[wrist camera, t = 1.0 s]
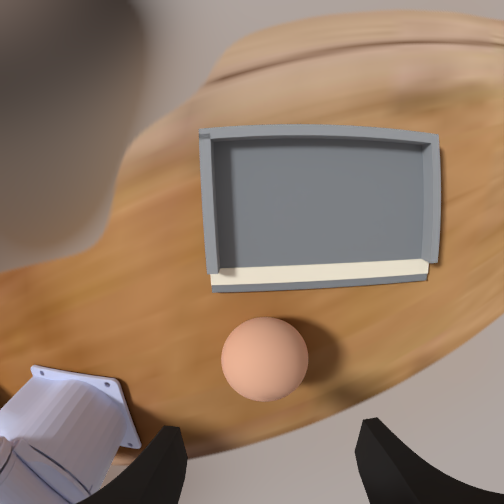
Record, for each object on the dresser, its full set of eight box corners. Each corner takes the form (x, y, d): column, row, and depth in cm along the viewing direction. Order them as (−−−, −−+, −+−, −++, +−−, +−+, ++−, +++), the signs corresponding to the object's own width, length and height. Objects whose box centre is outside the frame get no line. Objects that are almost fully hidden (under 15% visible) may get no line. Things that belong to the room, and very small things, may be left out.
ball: (228, 371, 20) (221, 419, 15) (222, 305, 19) (211, 344, 14) (301, 368, 20) (312, 415, 15) (303, 301, 19) (317, 340, 14)
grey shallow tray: (213, 290, 19) (209, 299, 17) (203, 133, 17) (198, 128, 15) (423, 278, 18) (435, 285, 17) (425, 137, 16) (438, 134, 15)
